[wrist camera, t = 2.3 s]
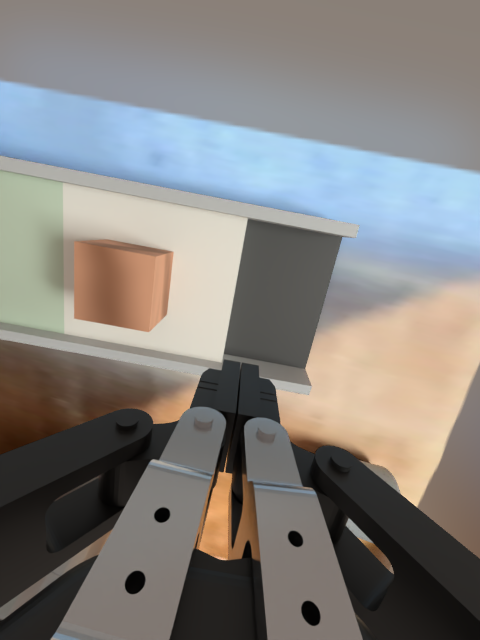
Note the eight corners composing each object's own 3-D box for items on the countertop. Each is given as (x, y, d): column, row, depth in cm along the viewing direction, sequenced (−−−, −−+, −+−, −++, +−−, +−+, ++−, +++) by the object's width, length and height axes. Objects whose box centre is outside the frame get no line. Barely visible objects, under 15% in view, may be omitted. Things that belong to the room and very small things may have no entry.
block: (173, 251, 25) (155, 256, 21) (166, 314, 27) (149, 332, 22) (107, 239, 25) (74, 241, 21) (105, 303, 27) (74, 318, 22)
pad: (79, 186, 26) (62, 182, 24) (78, 325, 31) (64, 333, 28) (-28, 166, 26) (-55, 159, 24) (-14, 308, 30) (-36, 315, 28)
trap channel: (344, 225, 26) (359, 225, 23) (302, 375, 31) (309, 395, 28) (-127, 135, 26) (-193, 118, 22) (-96, 302, 31) (-145, 312, 27)
